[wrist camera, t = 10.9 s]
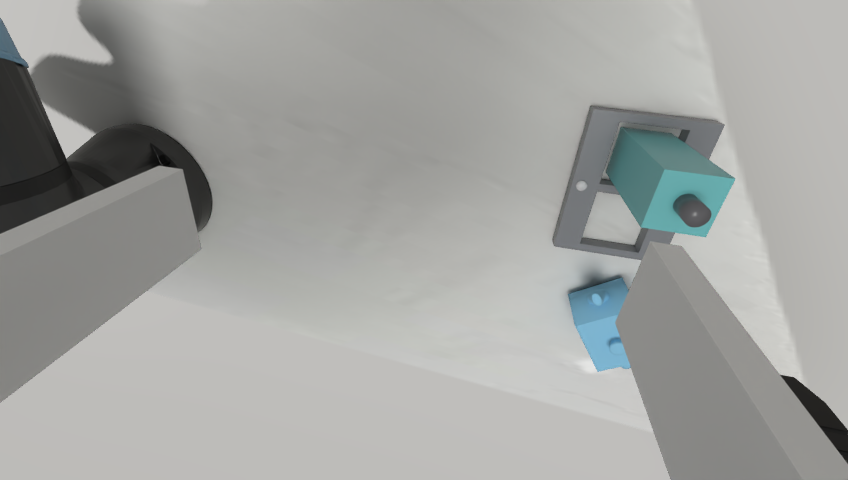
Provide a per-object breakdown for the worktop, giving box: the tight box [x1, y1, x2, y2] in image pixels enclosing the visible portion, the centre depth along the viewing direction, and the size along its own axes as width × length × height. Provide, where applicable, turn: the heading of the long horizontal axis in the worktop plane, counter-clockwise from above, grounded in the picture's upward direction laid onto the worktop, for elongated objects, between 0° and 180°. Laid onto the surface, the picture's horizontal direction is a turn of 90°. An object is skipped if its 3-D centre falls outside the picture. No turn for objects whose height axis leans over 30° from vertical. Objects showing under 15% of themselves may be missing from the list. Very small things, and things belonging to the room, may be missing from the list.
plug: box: [606, 127, 735, 237], centre depth 32 cm, size 4×4×14 cm
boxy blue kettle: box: [568, 278, 631, 372], centre depth 43 cm, size 12×6×8 cm, turn 30°
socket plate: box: [553, 106, 725, 260], centre depth 39 cm, size 11×14×2 cm
